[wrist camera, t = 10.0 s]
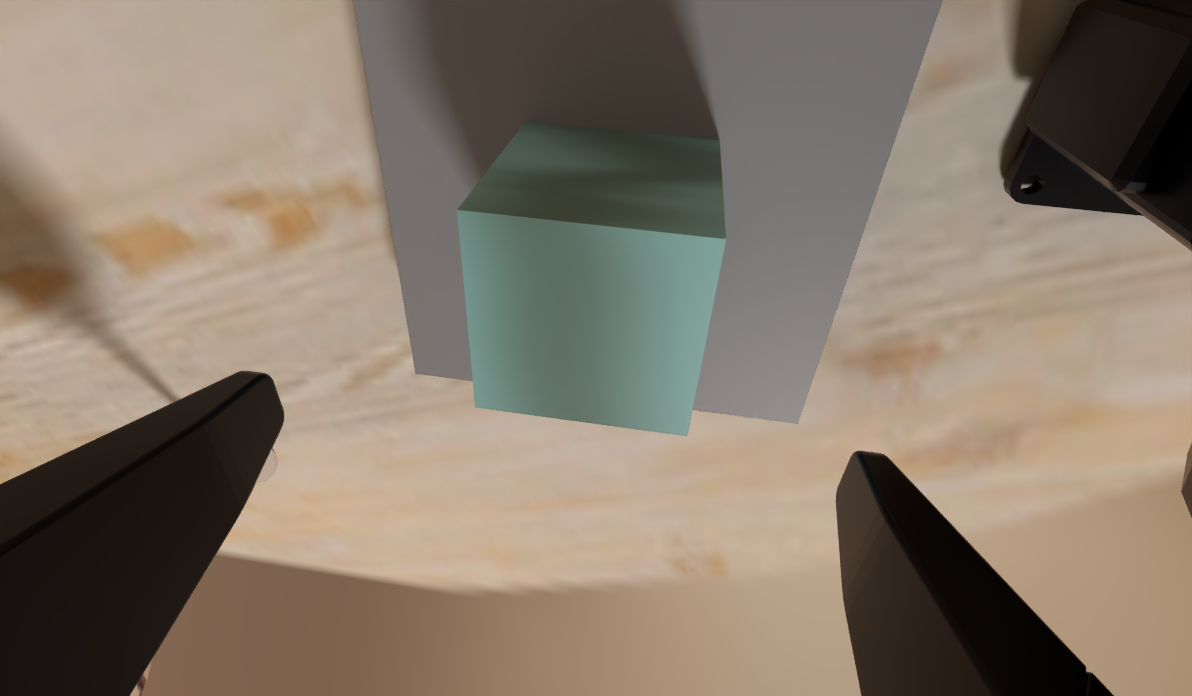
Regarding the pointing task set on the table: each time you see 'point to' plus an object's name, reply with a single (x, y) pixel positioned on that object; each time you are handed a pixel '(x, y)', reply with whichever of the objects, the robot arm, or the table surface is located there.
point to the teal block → (593, 274)
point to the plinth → (658, 106)
